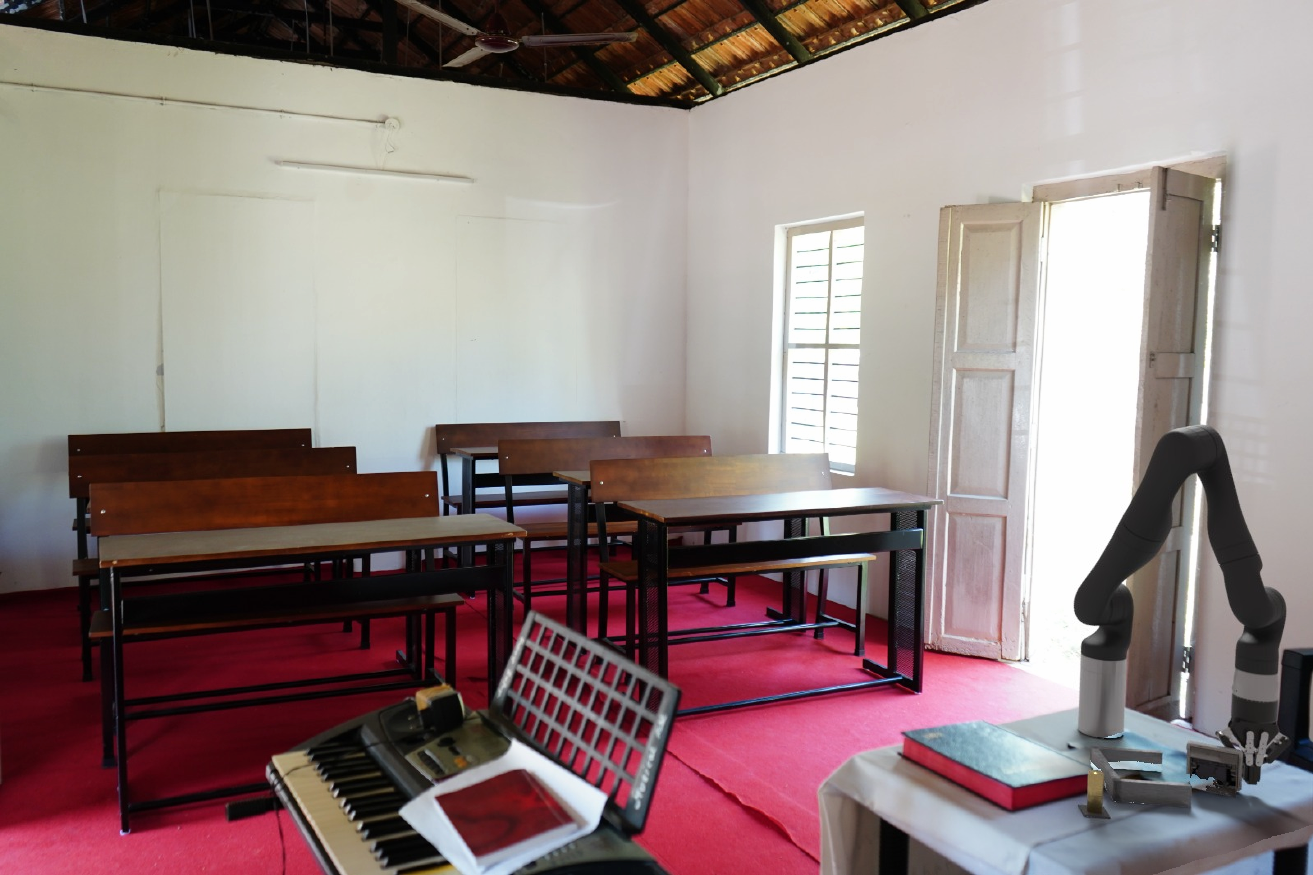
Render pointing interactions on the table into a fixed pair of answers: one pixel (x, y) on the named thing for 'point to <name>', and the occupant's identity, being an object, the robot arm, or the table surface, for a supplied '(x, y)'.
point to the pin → (1095, 791)
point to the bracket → (1138, 788)
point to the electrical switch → (1216, 766)
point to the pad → (1089, 814)
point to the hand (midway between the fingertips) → (1250, 783)
